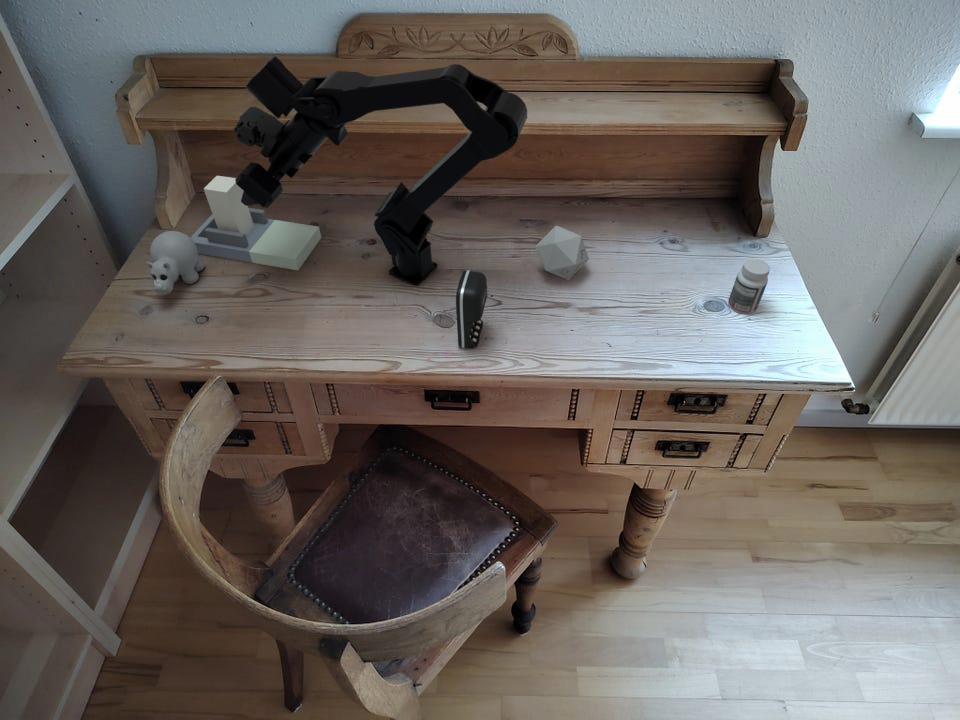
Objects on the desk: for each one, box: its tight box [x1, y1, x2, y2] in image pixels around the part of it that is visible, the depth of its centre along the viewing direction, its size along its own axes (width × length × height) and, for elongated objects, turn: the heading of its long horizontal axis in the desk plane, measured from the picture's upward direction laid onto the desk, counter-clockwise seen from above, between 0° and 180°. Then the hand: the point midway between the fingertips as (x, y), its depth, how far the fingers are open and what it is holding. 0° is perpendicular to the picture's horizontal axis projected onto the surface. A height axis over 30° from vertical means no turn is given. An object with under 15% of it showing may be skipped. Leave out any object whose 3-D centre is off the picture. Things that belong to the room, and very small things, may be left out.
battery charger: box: [455, 269, 488, 349], centre depth 102 cm, size 7×4×11 cm, turn 170°
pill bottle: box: [727, 257, 771, 315], centre depth 107 cm, size 5×5×8 cm
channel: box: [189, 207, 322, 271], centre depth 121 cm, size 22×10×5 cm, turn 75°
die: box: [534, 225, 590, 281], centre depth 115 cm, size 8×9×10 cm
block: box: [203, 175, 254, 235], centre depth 118 cm, size 4×4×10 cm
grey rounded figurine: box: [145, 230, 206, 296], centre depth 112 cm, size 8×12×9 cm, turn 176°
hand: (256, 188), depth 113 cm, fingers open, 9 cm apart
